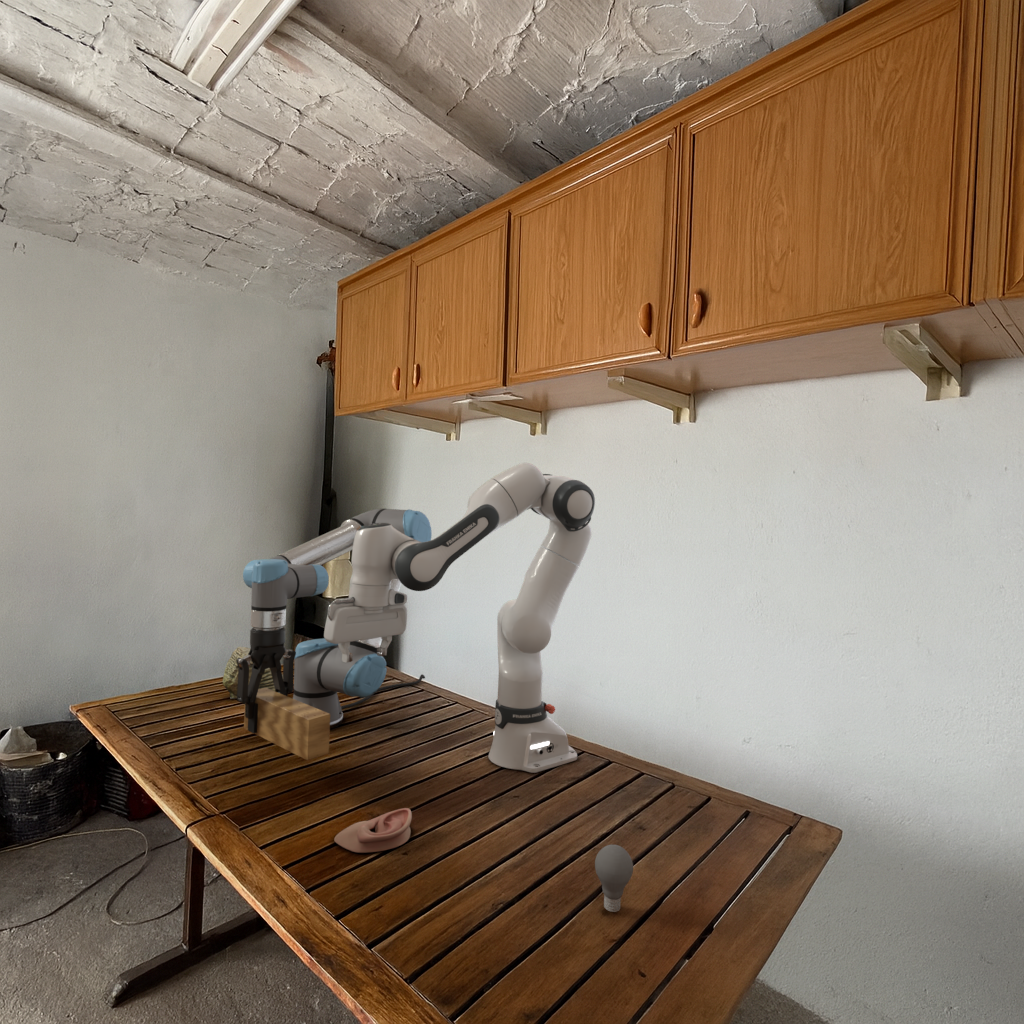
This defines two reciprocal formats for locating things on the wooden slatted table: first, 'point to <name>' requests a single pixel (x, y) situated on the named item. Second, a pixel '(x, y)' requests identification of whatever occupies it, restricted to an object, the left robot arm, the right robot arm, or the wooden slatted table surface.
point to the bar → (292, 724)
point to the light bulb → (613, 874)
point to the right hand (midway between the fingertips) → (364, 658)
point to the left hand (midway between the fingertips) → (264, 727)
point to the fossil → (232, 673)
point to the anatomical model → (377, 832)
